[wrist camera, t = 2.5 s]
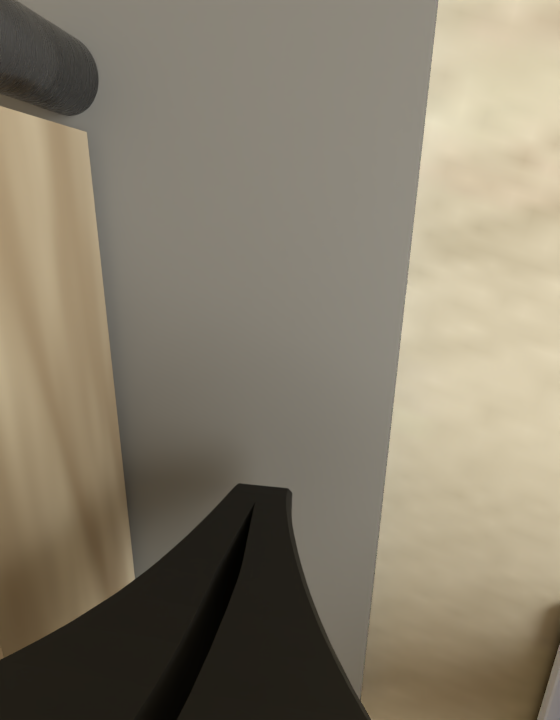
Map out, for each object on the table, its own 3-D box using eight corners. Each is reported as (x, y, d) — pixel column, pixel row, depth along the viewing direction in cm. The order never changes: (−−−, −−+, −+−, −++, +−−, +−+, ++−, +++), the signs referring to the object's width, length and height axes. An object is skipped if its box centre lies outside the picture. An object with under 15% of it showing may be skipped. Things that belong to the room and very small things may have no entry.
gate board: (448, -152, 9) (460, -197, 8) (356, 704, 16) (356, 733, 15) (-206, -101, 11) (-260, -131, 10) (-13, 645, 18) (-32, 669, 17)
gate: (86, 132, 10) (-144, 62, 5) (136, 593, 14) (33, 780, 10) (37, 131, 10) (-229, 65, 5) (101, 587, 14) (-17, 770, 10)
